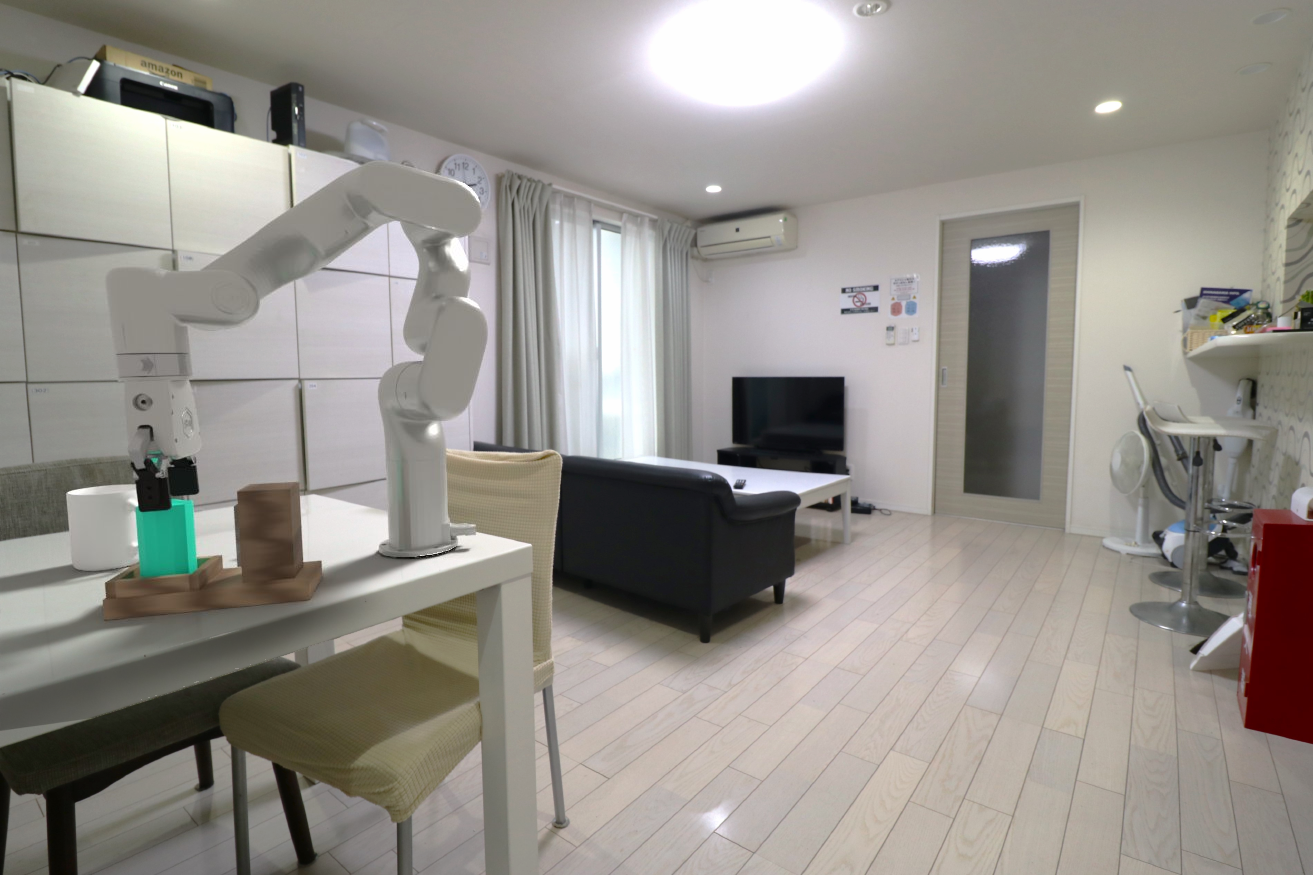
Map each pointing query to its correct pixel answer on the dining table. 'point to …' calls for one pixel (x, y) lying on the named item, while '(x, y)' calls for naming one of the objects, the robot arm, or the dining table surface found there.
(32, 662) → the dining table surface
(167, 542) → the candle
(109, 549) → the mug
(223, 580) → the brown wooden stand
